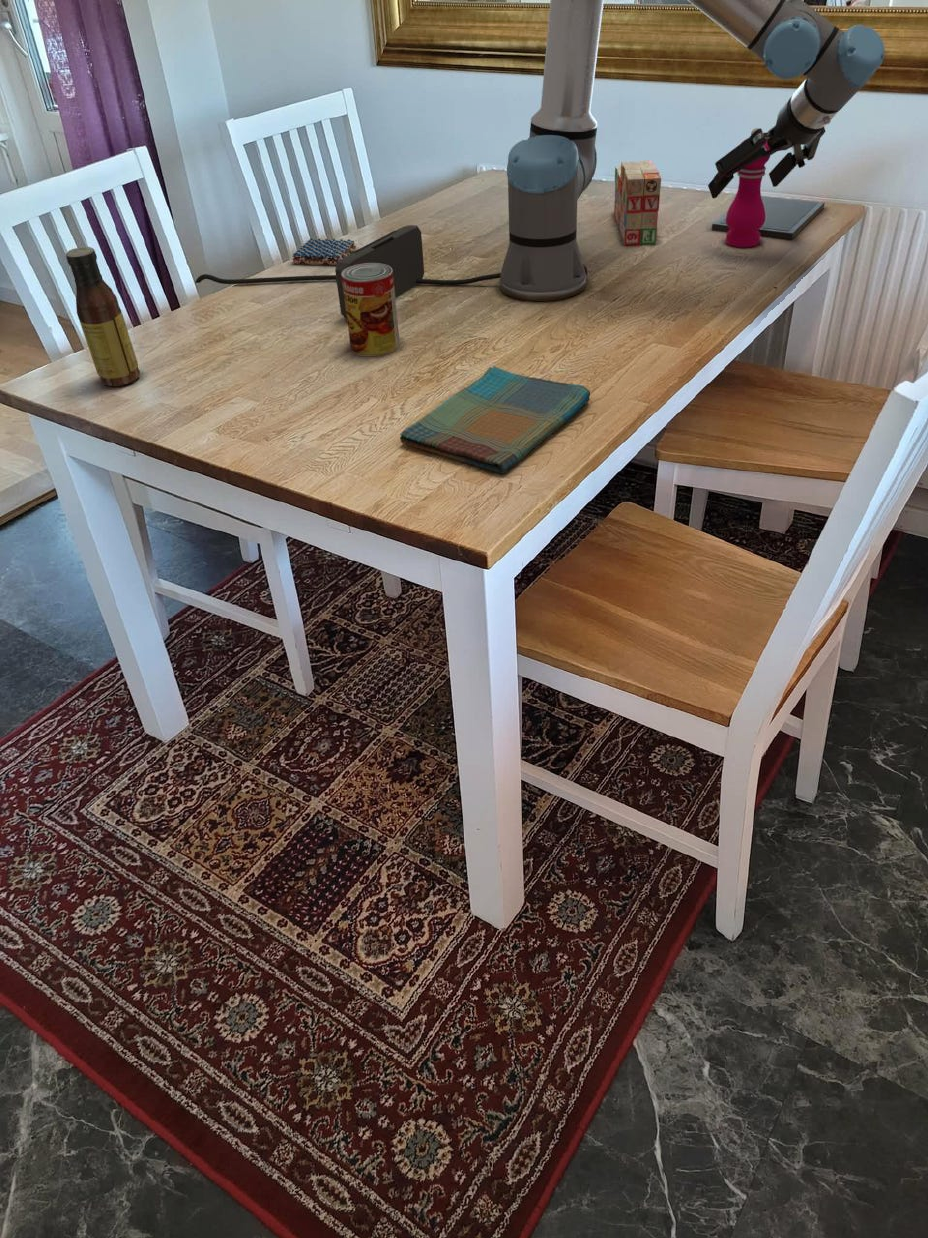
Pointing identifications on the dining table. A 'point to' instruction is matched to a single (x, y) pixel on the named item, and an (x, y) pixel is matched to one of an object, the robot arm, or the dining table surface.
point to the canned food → (371, 309)
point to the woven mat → (323, 251)
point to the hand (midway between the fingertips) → (742, 185)
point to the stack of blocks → (637, 201)
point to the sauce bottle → (102, 321)
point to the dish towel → (496, 419)
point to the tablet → (781, 217)
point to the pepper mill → (747, 206)
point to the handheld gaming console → (389, 259)
